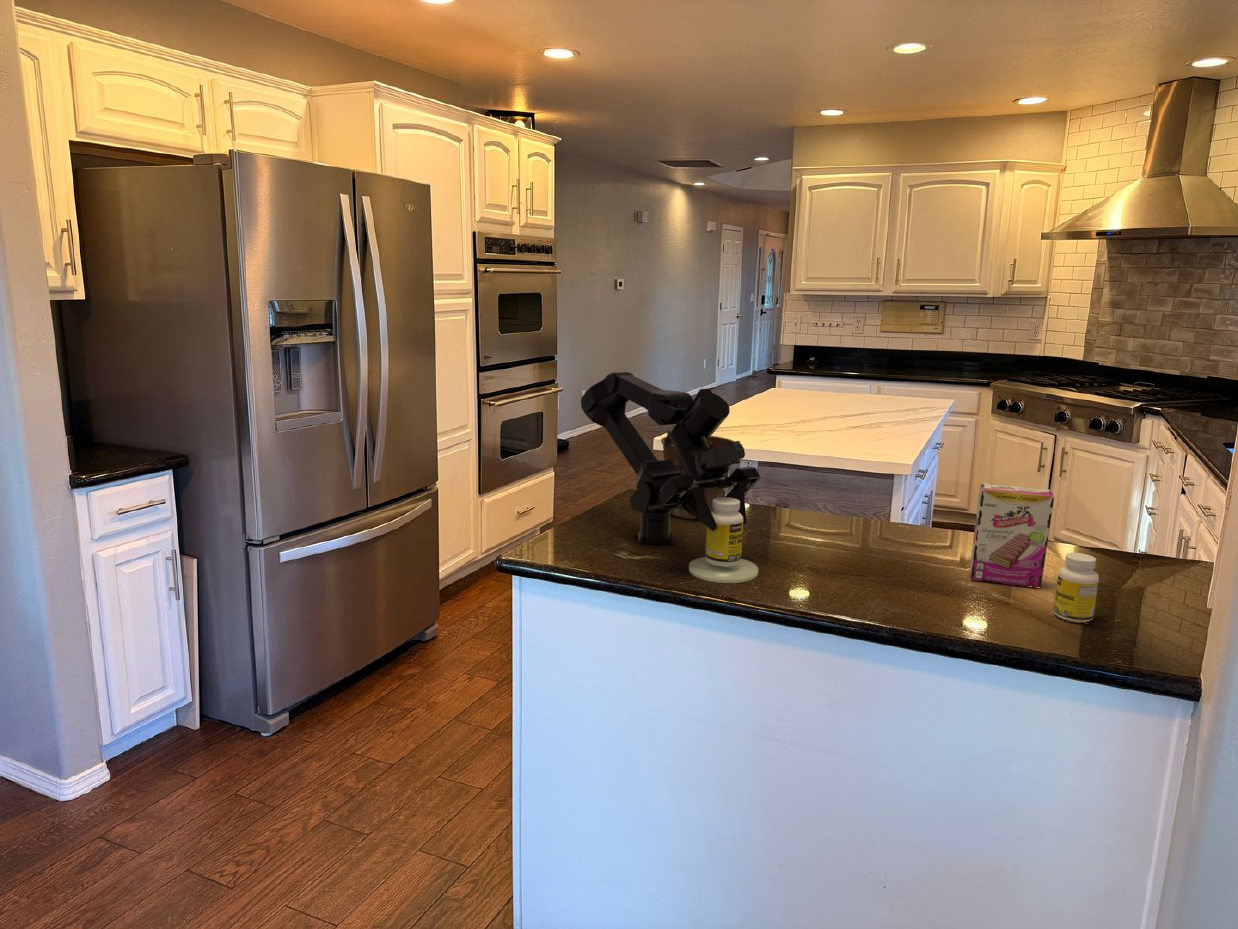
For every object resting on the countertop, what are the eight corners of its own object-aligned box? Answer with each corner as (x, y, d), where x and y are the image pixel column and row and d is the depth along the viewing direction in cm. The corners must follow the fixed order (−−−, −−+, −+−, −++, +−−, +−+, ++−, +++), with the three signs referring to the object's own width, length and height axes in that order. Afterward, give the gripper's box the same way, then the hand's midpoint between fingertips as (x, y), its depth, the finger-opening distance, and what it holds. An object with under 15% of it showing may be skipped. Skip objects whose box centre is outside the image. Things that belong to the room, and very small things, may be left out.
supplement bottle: (1045, 611, 130) (1053, 551, 128) (1078, 610, 130) (1086, 550, 128) (1066, 625, 124) (1075, 562, 122) (1100, 624, 125) (1110, 562, 123)
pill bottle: (732, 570, 141) (735, 507, 138) (699, 563, 144) (701, 501, 142) (746, 560, 146) (750, 499, 144) (714, 553, 149) (717, 494, 147)
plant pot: (745, 511, 185) (749, 439, 181) (713, 527, 171) (716, 451, 168) (680, 500, 193) (683, 431, 190) (645, 515, 180) (647, 441, 176)
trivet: (685, 559, 151) (686, 555, 151) (751, 560, 151) (752, 556, 151) (692, 582, 139) (692, 578, 139) (763, 583, 139) (763, 579, 139)
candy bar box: (970, 581, 142) (981, 488, 139) (968, 572, 147) (978, 482, 143) (1042, 590, 139) (1055, 495, 135) (1038, 580, 143) (1050, 488, 140)
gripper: (671, 429, 138) (708, 510, 132) (757, 422, 148) (796, 496, 141) (643, 466, 147) (677, 543, 140) (726, 457, 156) (762, 528, 149)
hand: (729, 527), depth 142 cm, fingers closed on pill bottle, 6 cm apart
